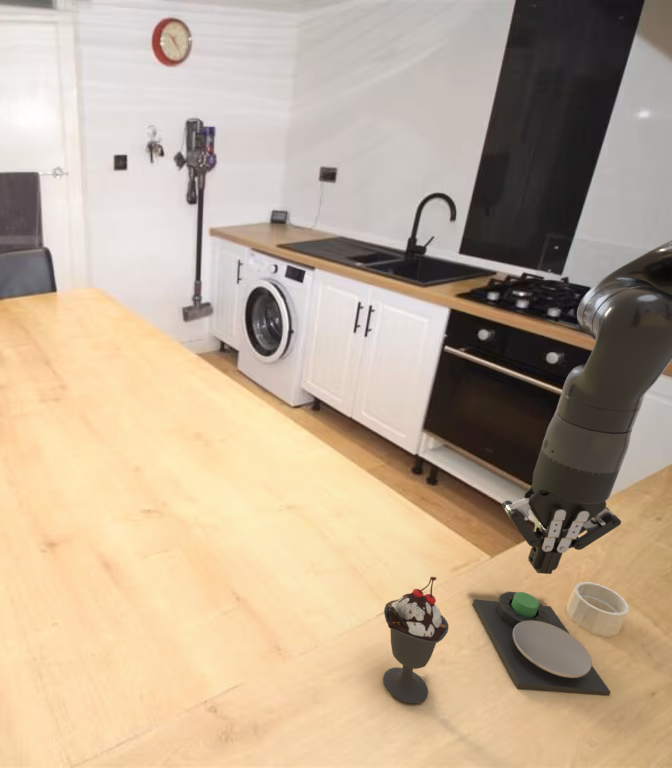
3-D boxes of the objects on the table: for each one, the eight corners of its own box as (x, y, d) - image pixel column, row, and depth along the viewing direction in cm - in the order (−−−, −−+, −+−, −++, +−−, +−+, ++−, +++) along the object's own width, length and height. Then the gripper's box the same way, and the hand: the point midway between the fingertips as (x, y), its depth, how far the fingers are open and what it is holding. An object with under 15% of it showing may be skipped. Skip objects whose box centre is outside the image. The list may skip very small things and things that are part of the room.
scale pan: (566, 625, 69) (567, 623, 69) (606, 681, 62) (607, 679, 62) (500, 619, 70) (501, 617, 70) (532, 674, 63) (533, 671, 63)
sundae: (438, 675, 66) (457, 574, 61) (432, 720, 60) (452, 612, 55) (380, 654, 69) (394, 556, 64) (370, 694, 63) (384, 591, 58)
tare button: (529, 602, 73) (532, 592, 73) (539, 619, 71) (543, 608, 70) (507, 600, 74) (510, 590, 73) (517, 616, 71) (520, 606, 70)
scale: (545, 611, 75) (552, 595, 74) (607, 700, 63) (615, 682, 62) (470, 604, 76) (475, 588, 75) (516, 690, 64) (523, 673, 63)
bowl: (600, 608, 76) (610, 583, 74) (627, 642, 71) (640, 617, 69) (555, 604, 76) (565, 579, 75) (580, 638, 71) (591, 612, 69)
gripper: (536, 467, 60) (498, 586, 67) (666, 474, 59) (614, 595, 66) (505, 434, 67) (474, 545, 74) (621, 440, 65) (578, 553, 72)
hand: (540, 569), depth 70 cm, fingers closed
